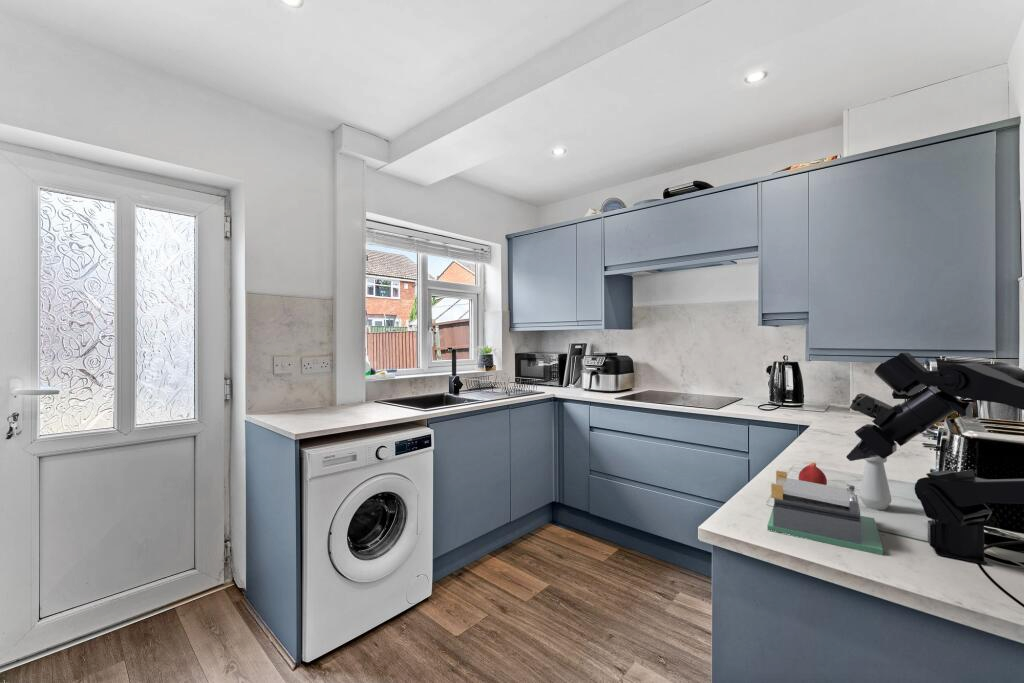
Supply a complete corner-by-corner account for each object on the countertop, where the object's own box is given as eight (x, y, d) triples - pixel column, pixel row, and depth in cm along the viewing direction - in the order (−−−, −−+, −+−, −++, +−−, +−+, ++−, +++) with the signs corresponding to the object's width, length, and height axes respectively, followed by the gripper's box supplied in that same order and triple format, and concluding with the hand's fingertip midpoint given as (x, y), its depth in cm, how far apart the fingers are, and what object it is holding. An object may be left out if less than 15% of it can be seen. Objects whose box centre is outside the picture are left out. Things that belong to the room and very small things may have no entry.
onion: (801, 496, 108) (801, 464, 108) (796, 489, 114) (796, 458, 114) (829, 499, 106) (829, 466, 106) (823, 491, 111) (822, 460, 111)
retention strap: (854, 495, 91) (854, 489, 91) (857, 509, 84) (857, 503, 84) (778, 480, 99) (778, 475, 99) (774, 492, 92) (774, 487, 92)
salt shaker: (897, 512, 98) (897, 454, 98) (868, 510, 99) (868, 453, 99) (881, 503, 104) (881, 448, 104) (853, 501, 105) (853, 447, 105)
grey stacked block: (856, 515, 94) (856, 479, 94) (861, 544, 81) (861, 502, 81) (777, 501, 102) (777, 468, 102) (770, 525, 89) (770, 487, 89)
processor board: (874, 522, 92) (874, 518, 92) (882, 555, 79) (882, 549, 79) (775, 504, 103) (775, 500, 103) (767, 530, 89) (767, 525, 89)
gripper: (890, 378, 94) (829, 422, 103) (868, 384, 82) (801, 433, 91) (941, 420, 88) (872, 463, 97) (925, 433, 76) (848, 480, 85)
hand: (848, 458), depth 92 cm, fingers closed
